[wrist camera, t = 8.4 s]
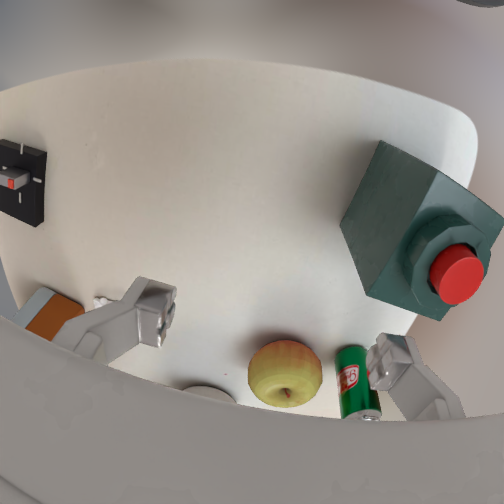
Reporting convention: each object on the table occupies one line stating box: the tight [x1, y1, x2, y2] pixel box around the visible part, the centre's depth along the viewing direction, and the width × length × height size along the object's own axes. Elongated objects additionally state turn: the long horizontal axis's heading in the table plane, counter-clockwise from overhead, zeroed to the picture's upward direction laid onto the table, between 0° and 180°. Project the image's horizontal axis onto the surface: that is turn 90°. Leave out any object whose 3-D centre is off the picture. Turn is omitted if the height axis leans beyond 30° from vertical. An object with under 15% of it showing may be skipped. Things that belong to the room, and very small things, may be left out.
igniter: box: [340, 140, 504, 321], centre depth 23 cm, size 10×8×14 cm
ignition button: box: [430, 244, 484, 304], centre depth 16 cm, size 4×4×2 cm
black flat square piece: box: [0, 139, 47, 227], centre depth 30 cm, size 11×11×2 cm
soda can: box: [334, 346, 382, 421], centre depth 35 cm, size 5×5×12 cm
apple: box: [248, 340, 322, 408], centre depth 37 cm, size 10×10×8 cm
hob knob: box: [0, 166, 30, 190], centre depth 27 cm, size 4×1×3 cm, turn 72°
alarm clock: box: [10, 287, 84, 342], centre depth 35 cm, size 18×9×21 cm, turn 160°
